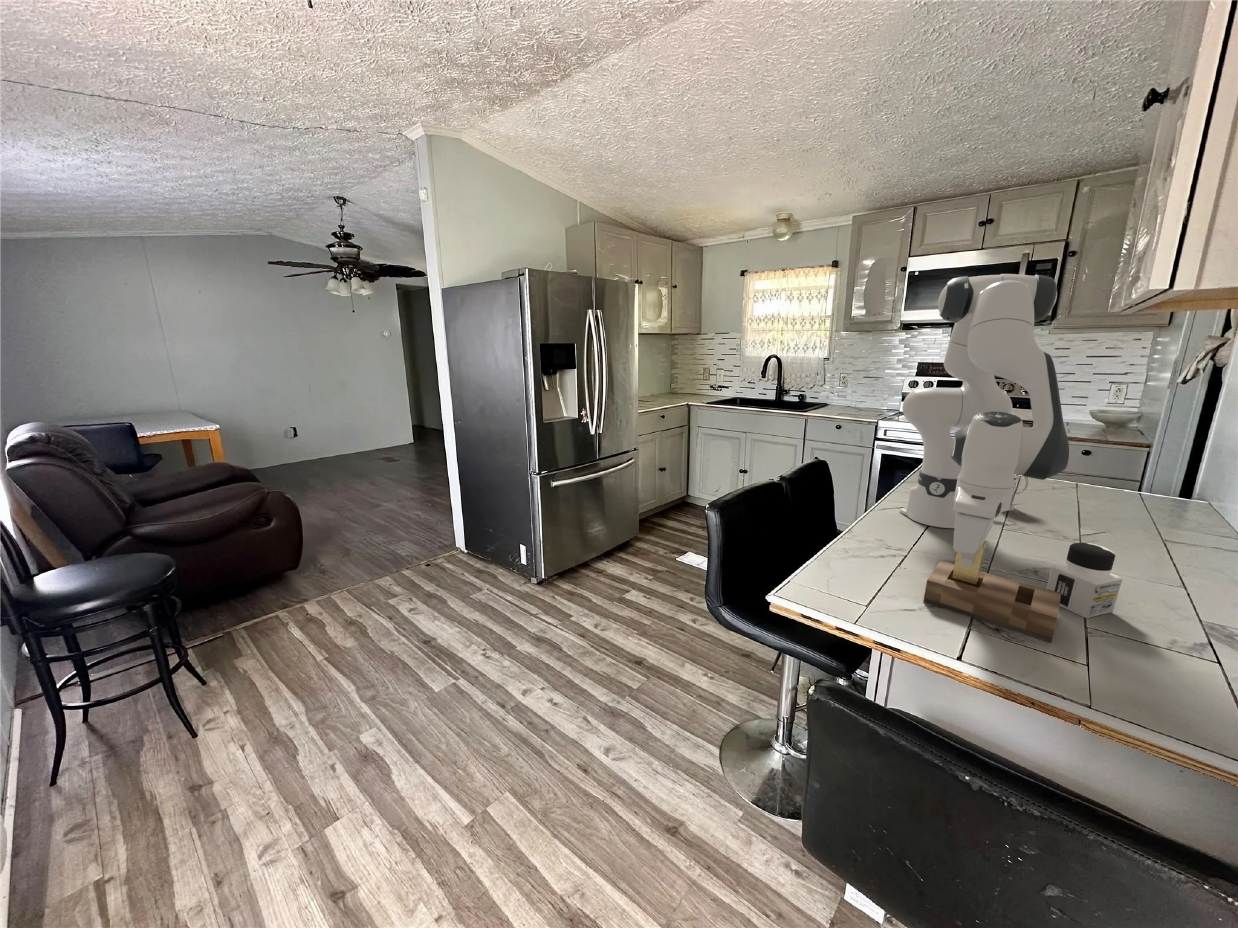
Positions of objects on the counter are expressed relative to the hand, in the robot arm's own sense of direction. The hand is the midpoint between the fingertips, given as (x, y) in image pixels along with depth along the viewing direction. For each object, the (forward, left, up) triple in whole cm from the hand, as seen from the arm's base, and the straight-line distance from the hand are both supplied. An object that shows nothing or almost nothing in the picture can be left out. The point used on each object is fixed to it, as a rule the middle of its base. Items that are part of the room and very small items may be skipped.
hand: (969, 561), depth 98 cm
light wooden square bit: (0, 0, -4) cm, 4 cm away
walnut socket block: (0, +4, -9) cm, 10 cm away
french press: (-77, -3, -9) cm, 78 cm away
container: (-14, +17, -9) cm, 24 cm away
